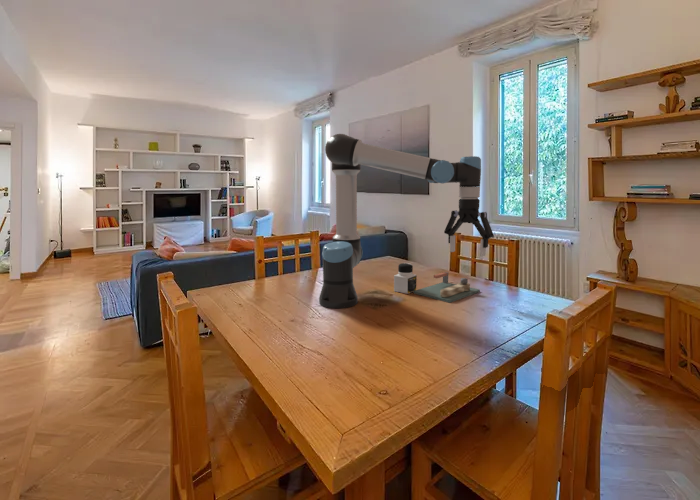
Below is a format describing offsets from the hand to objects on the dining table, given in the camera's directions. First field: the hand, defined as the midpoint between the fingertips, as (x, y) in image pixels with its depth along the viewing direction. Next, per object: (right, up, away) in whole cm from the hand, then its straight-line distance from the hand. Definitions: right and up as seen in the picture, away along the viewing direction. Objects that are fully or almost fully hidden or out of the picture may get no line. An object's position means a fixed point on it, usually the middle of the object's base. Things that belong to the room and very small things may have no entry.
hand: (467, 253), depth 148 cm
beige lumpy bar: (-2, -16, +9) cm, 19 cm away
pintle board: (-4, -17, +14) cm, 22 cm away
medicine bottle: (-22, -16, +17) cm, 32 cm away
